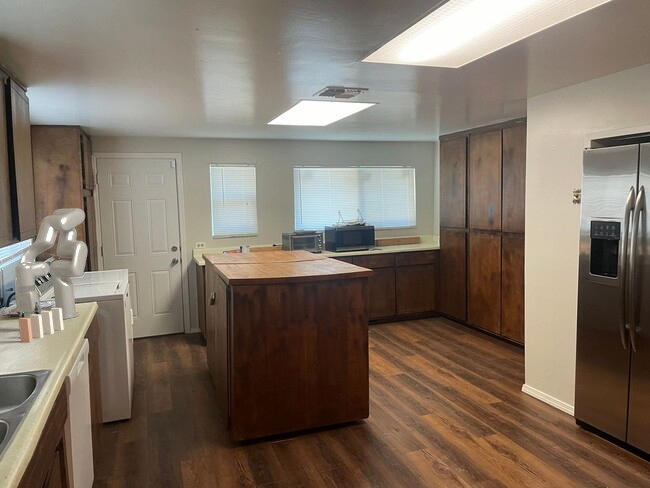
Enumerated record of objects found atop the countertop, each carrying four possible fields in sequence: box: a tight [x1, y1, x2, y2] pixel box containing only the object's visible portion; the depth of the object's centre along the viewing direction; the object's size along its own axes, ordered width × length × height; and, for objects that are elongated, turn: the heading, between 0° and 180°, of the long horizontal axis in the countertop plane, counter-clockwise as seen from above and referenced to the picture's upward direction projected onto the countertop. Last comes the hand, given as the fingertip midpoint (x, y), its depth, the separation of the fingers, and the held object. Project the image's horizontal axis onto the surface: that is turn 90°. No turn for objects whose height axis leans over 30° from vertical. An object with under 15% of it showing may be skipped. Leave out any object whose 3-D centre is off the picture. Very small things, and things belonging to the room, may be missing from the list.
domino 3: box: [30, 313, 44, 339], centre depth 228 cm, size 2×5×11 cm, turn 76°
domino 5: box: [50, 307, 65, 332], centre depth 240 cm, size 2×5×11 cm, turn 76°
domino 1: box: [24, 312, 35, 318], centre depth 242 cm, size 2×5×11 cm, turn 75°
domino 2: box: [18, 317, 34, 343], centre depth 222 cm, size 2×5×11 cm, turn 75°
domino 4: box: [40, 310, 55, 335], centre depth 234 cm, size 2×5×11 cm, turn 76°
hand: (30, 324), depth 242 cm, fingers open, 6 cm apart
